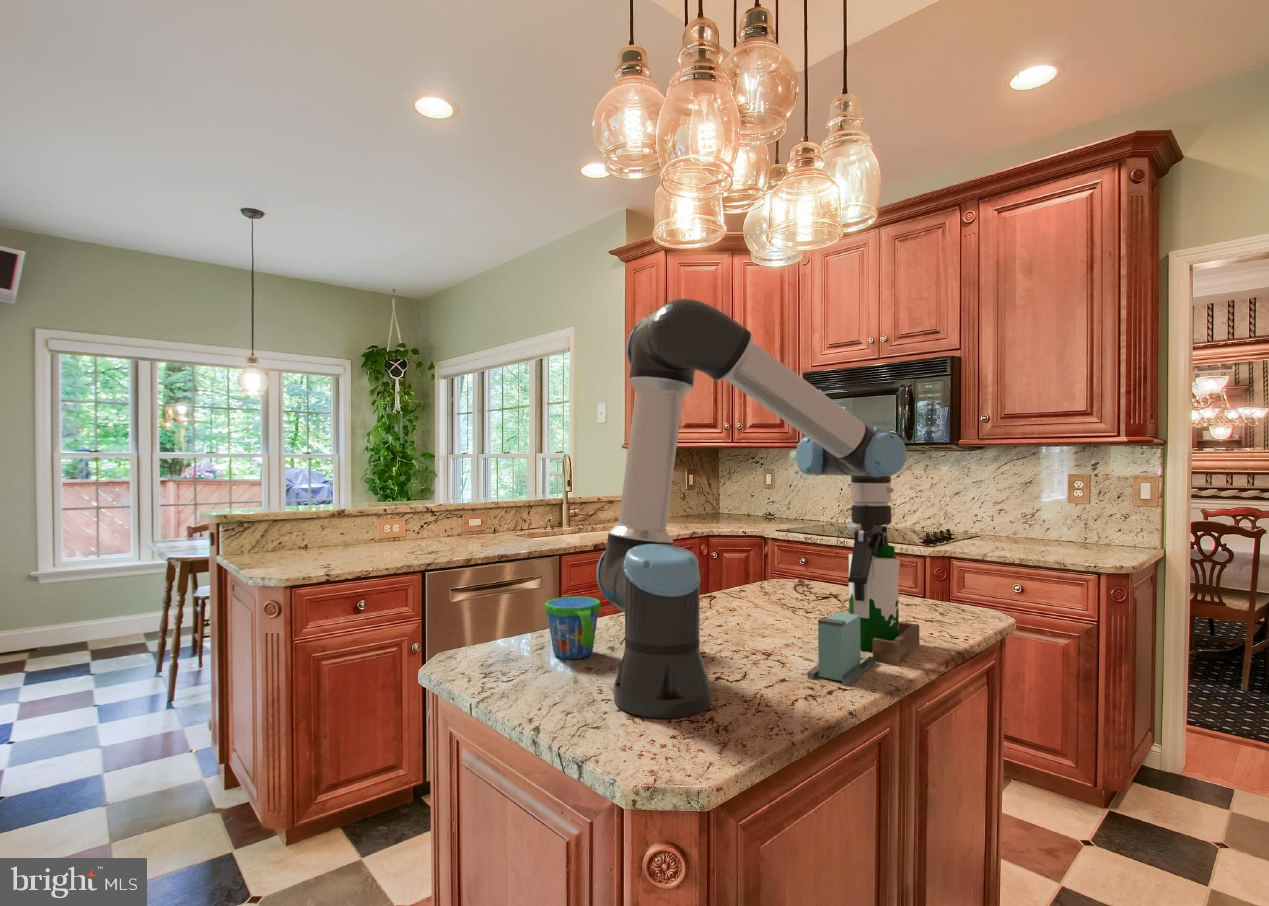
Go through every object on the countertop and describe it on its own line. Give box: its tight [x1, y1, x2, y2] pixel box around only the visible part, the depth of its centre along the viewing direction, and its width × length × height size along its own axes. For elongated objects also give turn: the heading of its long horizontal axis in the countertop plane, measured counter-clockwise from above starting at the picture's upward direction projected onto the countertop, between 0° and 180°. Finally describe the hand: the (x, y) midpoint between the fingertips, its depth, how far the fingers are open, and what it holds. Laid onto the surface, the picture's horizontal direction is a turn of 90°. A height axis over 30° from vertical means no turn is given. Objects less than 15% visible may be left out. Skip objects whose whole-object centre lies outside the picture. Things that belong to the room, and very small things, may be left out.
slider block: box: [817, 611, 862, 682], centre depth 111 cm, size 4×10×10 cm, turn 143°
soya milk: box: [848, 544, 901, 652], centre depth 127 cm, size 9×9×20 cm
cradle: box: [872, 621, 920, 666], centre depth 126 cm, size 14×16×4 cm
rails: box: [806, 655, 877, 687], centre depth 112 cm, size 7×15×1 cm, turn 143°
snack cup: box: [544, 596, 602, 660], centre depth 122 cm, size 16×10×10 cm
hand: (872, 610), depth 126 cm, fingers open, 13 cm apart
